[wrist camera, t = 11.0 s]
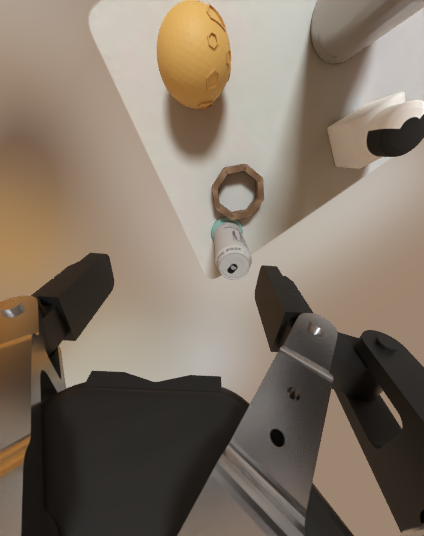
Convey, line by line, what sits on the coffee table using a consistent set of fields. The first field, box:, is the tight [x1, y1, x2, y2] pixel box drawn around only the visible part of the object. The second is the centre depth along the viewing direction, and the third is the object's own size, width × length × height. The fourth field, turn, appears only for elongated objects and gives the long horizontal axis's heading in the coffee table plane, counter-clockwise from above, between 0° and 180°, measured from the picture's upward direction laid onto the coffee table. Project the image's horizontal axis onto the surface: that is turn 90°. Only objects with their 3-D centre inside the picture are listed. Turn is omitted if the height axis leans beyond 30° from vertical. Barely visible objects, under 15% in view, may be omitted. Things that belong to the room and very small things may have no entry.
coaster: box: [211, 217, 243, 241], centre depth 44 cm, size 7×7×1 cm
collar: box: [212, 164, 264, 220], centre depth 38 cm, size 10×10×2 cm
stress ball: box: [157, 0, 231, 110], centre depth 26 cm, size 10×10×10 cm
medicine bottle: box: [327, 92, 424, 169], centre depth 30 cm, size 7×7×12 cm
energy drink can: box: [214, 222, 252, 280], centre depth 37 cm, size 6×6×15 cm
